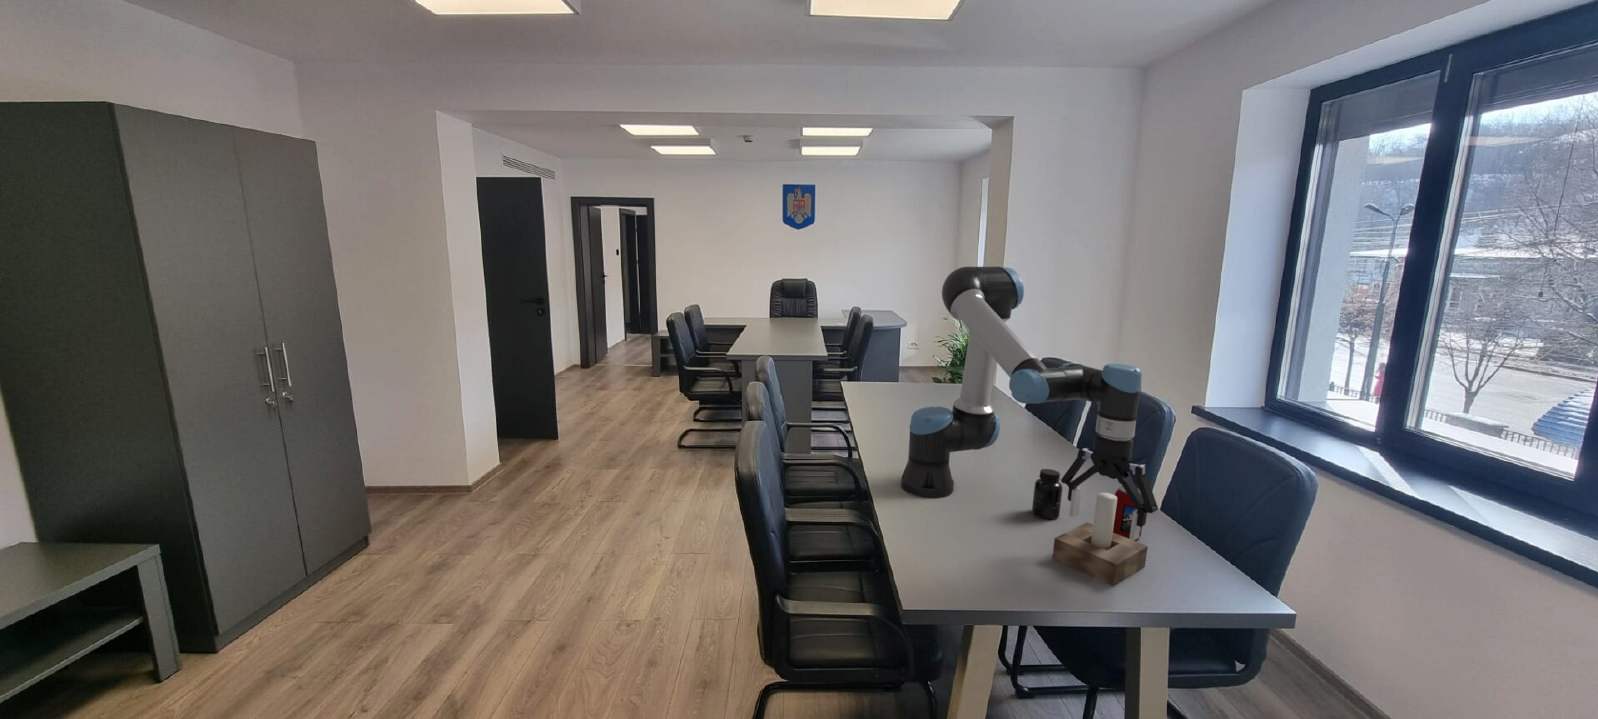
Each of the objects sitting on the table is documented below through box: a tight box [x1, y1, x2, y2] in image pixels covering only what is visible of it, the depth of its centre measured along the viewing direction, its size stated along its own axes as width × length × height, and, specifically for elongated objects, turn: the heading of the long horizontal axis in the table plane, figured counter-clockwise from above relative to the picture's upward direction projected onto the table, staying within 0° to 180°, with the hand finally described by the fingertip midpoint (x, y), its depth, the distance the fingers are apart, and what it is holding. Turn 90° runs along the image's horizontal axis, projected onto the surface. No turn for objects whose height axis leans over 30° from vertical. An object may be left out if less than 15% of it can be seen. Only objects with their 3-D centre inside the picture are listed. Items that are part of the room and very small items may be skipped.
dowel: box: [1091, 492, 1117, 550], centre depth 135 cm, size 4×4×16 cm
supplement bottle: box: [1031, 468, 1063, 520], centre depth 159 cm, size 7×7×12 cm
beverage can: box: [1113, 485, 1143, 539], centre depth 149 cm, size 7×7×12 cm
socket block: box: [1052, 522, 1149, 587], centre depth 136 cm, size 14×14×5 cm
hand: (1102, 526), depth 135 cm, fingers open, 13 cm apart
